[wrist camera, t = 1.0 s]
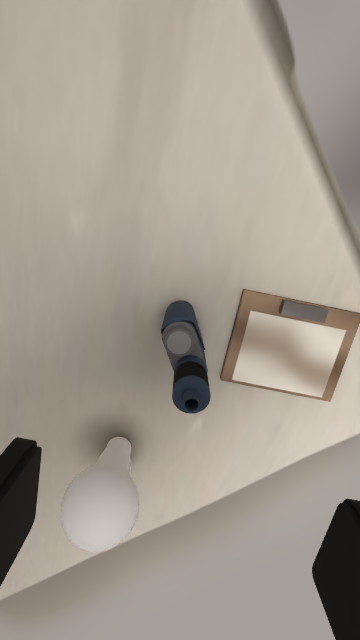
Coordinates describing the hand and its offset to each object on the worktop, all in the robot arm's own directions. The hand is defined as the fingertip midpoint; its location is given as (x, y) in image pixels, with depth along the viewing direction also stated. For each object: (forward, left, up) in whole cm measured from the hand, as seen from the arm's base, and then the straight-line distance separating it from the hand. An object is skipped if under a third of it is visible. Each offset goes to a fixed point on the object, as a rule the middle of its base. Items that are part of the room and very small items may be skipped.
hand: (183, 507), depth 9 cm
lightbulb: (-14, +4, -21) cm, 25 cm away
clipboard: (0, -10, -20) cm, 23 cm away
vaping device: (0, 0, -21) cm, 21 cm away
